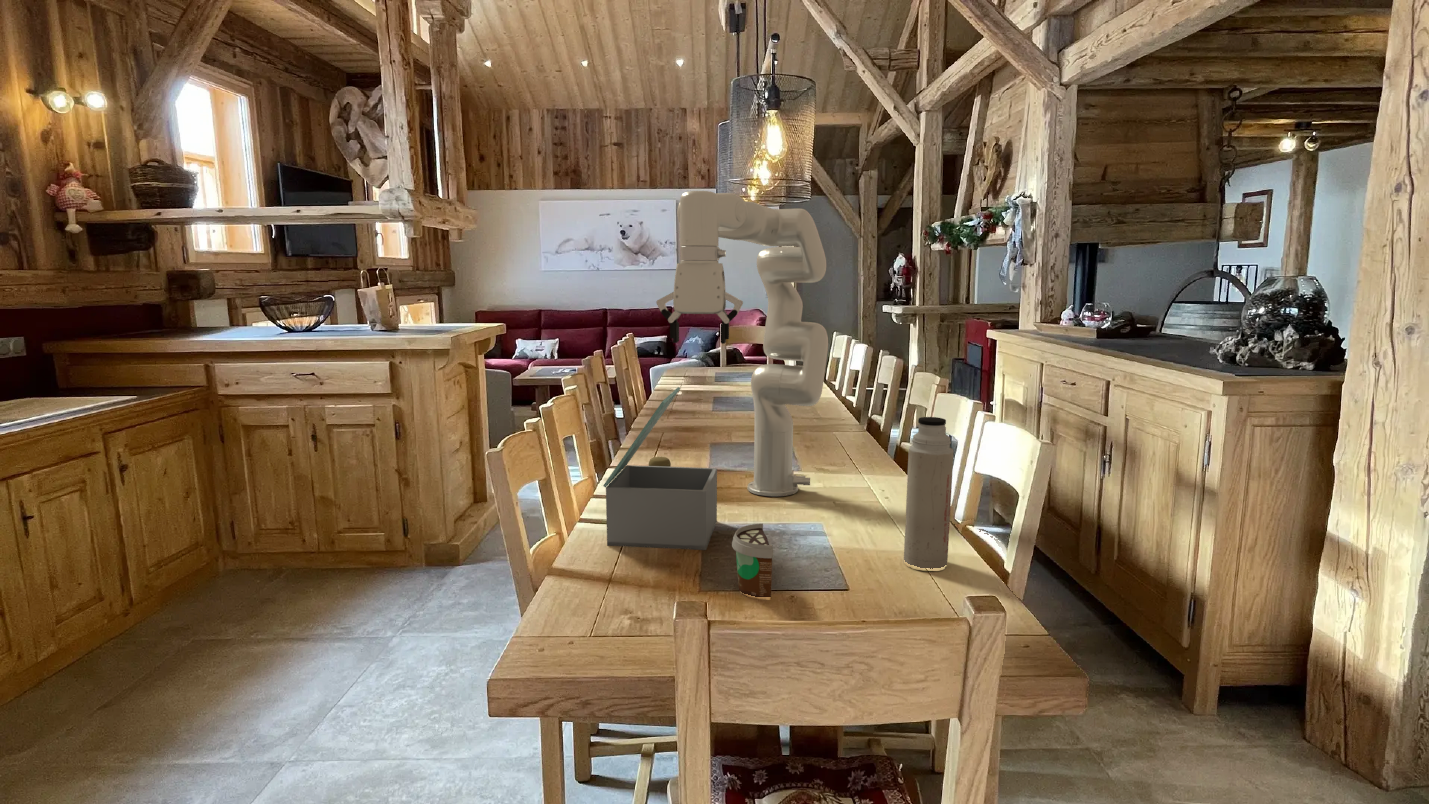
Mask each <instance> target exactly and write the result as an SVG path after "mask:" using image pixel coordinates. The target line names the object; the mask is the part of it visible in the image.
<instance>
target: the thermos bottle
mask: <svg viewBox="0 0 1429 804" xmlns="http://www.w3.org/2000/svg"><path fill="white" fill-rule="evenodd" d="M917 422H918V427H917V428H918V431H917V432H916V433H915V434H914V435H913V438H912V439H911V442H912V445H909V447H908V454H907V455H908V456H907V457H908V459H907V460H908V461H907V479H906V480H907V482H906V498H905V499H906V500H905V501H906V504H905V528H904V529H905V530H904V544H903V545H904V550H903V561H904V560H905V562H907V563H908V564H910V565H914V566H917V567H920V568H930V569H931V568H932V569H933V568H941V567H944V566H945V565H947V566H948V558H949V538H950V523H951V521H950V520H951V507H952V506H951V505H952V503H951V501H952V486H953V472H954V470H953V469H954V454H955V453H954V449H953V448H952V447H951V444H952V441H951V437H950V436H949V435H948V434H947V433H946V432H947V431H946V429H947V427H946V424H947V420H946V419H945V418H942V417H935V416H922V417H919V418H918V419H917Z"/></svg>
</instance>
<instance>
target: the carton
mask: <svg viewBox="0 0 1429 804" xmlns="http://www.w3.org/2000/svg"><path fill="white" fill-rule="evenodd" d="M605 505H606V507H605V508H606V509H605V510H606V511H605V512H606V515H605V516H606V545H607V546H609V547H632V548H651V549H652V548H654V549H673V550H674V549H675V550H695V551H698V550H699V551H706V550H707V548H708V545H709V544H710V541H711V538H712V534H713V532H714V529H715V527H716V524H717V523H718V512H717V511H718V468H715V467H692V466H690V467H689V466H670V467H666V466H649V465H631V464H629V465H628V464H627V465H626V466H625V467H624V468H623V469H622V470H621V472H620V473H619V474H618V475H617V476H616V477H615V478H614V479H613V480H612V481H611V482H610V483H609V484H608V485H607V487H606V488H605Z"/></svg>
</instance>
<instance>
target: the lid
mask: <svg viewBox="0 0 1429 804" xmlns="http://www.w3.org/2000/svg"><path fill="white" fill-rule="evenodd" d="M680 390H681V388H680V387H679V386H677V387H676V388H675V389H674V390H673V391H672V392H671V393H670V394H669V395H667V397H666V398H664V399H663V400H662V401H661V402H660V404H659V405H658V407H657V408H656V410H655V411H654V413H652V415H651V417H650V419H649V420H648V421H647V423H646V424H645V425H644V427H643V428H642V429H641V431H640V432H639V434H638V435H637V436H636V438H635V439H634V441H633V443H632V444H631V445H630V447H629V448H628V450H627V451H626V453H625V454H624V455H623V456H622V458H621V459H620V461H619V462H618V463H617V465H616V467H615V468H614V470H613V471H612V473H611V474H610V475H609V477H608V478H607V480H606V481H605V482H604V484H603V485H602V486H603V487H604V488H605V489H606V487H607V486H608V485H609V484H610V483H611V482H612V481H613V479H614V478H615V477H616V476H617V475H618V474H619V473H620V472H621V471H622V470H623V469H624V468H625V467H626V466H627V465H628V464H629V463H630V461H631V459H632V458H633V457H634V455H635V454H636V452H637V451H638V449H639V448H640V447H641V446H642V445H643V443H644V441H645V440H646V439H647V437H648V436H649V435H650V433H651V431H652V430H653V428H654V427H655V425H656V424H657V423H658V421H659V420H660V418H661V417H662V416H663V414H664V413H665V412H666V410H667V408H668V407H669V406H670V405H671V403H672V402H673V400H674V398H675V397H676V396H677V394H678V393H679V392H680Z"/></svg>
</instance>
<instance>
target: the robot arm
mask: <svg viewBox="0 0 1429 804" xmlns="http://www.w3.org/2000/svg"><path fill="white" fill-rule="evenodd" d="M676 210H677V213H676V214H677V215H676V216H677V219H678V220H677V221H678V222H679V228H680V229H679V232H680V233H679V239H680V241H679V242H680V243H679V244H680V245H679V246H680V247H679V248H680V262H679V263H677V264H676V269H675V274H674V284H673V291H672V292H670V293H669V294H667V295H665V296H663V297H661V298H659V299H657V300H656V302H655V303H656V305H657V307H658V310H659V311H660V313H661V315H662V316H663V317H664V318H665V319H666V320H667V321H668V323H669V338H670V339H672V343H673V344H677V343H678V342H679V341H680V322H679V321H678V319H679V318H680V317H681V315H682V314H688V315H690V314H692V315H697V314H698V315H701V314H702V315H710V314H711V315H714V314H715V315H717V316H718V317H719V318H720V320H721V323H720V344H722V345H725V344H726V343H727V340H729V339H730V322H732V321H733V319H734V318H735V317H737V315H738V314H739V312H740V310H741V308H742V306H743V304H744V301H743V300H742V299H740V298H739V297H736V296H734V295H732V294H730V293H728V292H727V291H726V279H725V269H724V265H723V263H722V262H721V263H719V261H720V259H722V258H725V257H727V250H725V249H722V248H720V247H719V239H720V238H722V239H725V240H726V239H727V240H733V241H743V242H748V243H752V244H757V245H759V246H764V247H767V248H763V249H762V250H760V251H759V252H758V254H757V257H756V267H757V268H756V269H757V272H758V274H759V277H760V280H761V282H762V285H763V286H764V289H765V292H766V296H767V312H766V319H765V324H764V325H765V326H764V334H763V346H762V350H763V353H764V354H765V356H766V357H768V358H770V359H774V360H780V361H793V362H794V361H795V362H797V361H798V362H803V364H802V365H789V364H780V363H779V364H778V363H777V364H775V363H768V364H763V365H759V366H758V367H757V368H755V369H754V371H753V372H752V375H751V379H750V389H751V394H752V395H751V396H752V399H753V400H752V401H753V411H754V412H753V413H754V429H753V430H754V433H753V435H754V436H753V437H754V438H753V440H754V441H753V443H754V446H753V453H754V454H753V480H752V481H751V482H749V483H748V484H747V490H748V492H750V493H752V494H754V495H758V496H763V497H787V496H791V495H794V494H796V493H797V492H798V491H799V486H800V485H801V486H811V477H806V476H805V475H797V474H794V472H795V471H794V469H793V452H794V451H793V449H794V448H793V447H794V445H793V443H794V441H793V440H794V439H793V438H794V420H793V417H792V415H791V412H790V411H789V409H788V407H787V406H786V405H790V406H791V405H792V406H802V407H812V406H814V405H816V404H818V402H819V401H820V399H821V397H822V393H823V389H824V388H823V387H824V382H825V381H824V380H825V373H826V365H827V358H828V350H829V336H828V332H827V329H826V328H825V327H824V326H823V325H822V324H820V323H818V322H814V321H813V322H810V321H802V315H803V309H804V307H803V305H804V304H803V300H802V298H801V295H800V293H799V292H798V290H797V289H796V288H795V287H794V285H793V284H792V283H801V284H802V283H807V284H812V283H813V284H814V283H817V282H820V281H821V280H822V279H823V278H824V277H825V275H826V271H827V258H826V253H825V250H824V247H823V243H822V240H821V238H820V235H819V231H818V228H817V225H816V222H815V221H814V218H813V217H812V215H811V214H810V213H809V212H808V210H806V209H804V208H779V209H778V208H771V207H768V206H765V205H762V204H759V203H757V202H754V201H745V200H744V199H743V198H742V197H741V196H740V195H738V194H736V193H733V192H718V193H715V192H713V191H709V190H690V191H685V192H683V193H682V194H681V196H680V199H679V203H678V206H677V209H676ZM672 300H673V301H672ZM671 301H672V302H673V310H674V311H673V312H670V310H669V309H668V308H667V305H666V304H667V303H668V302H671ZM727 302H730V303H731V304H733V307H732V310H731V311H730V312H729V313H727V312H726V307H727ZM798 485H799V486H798Z"/></svg>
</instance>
